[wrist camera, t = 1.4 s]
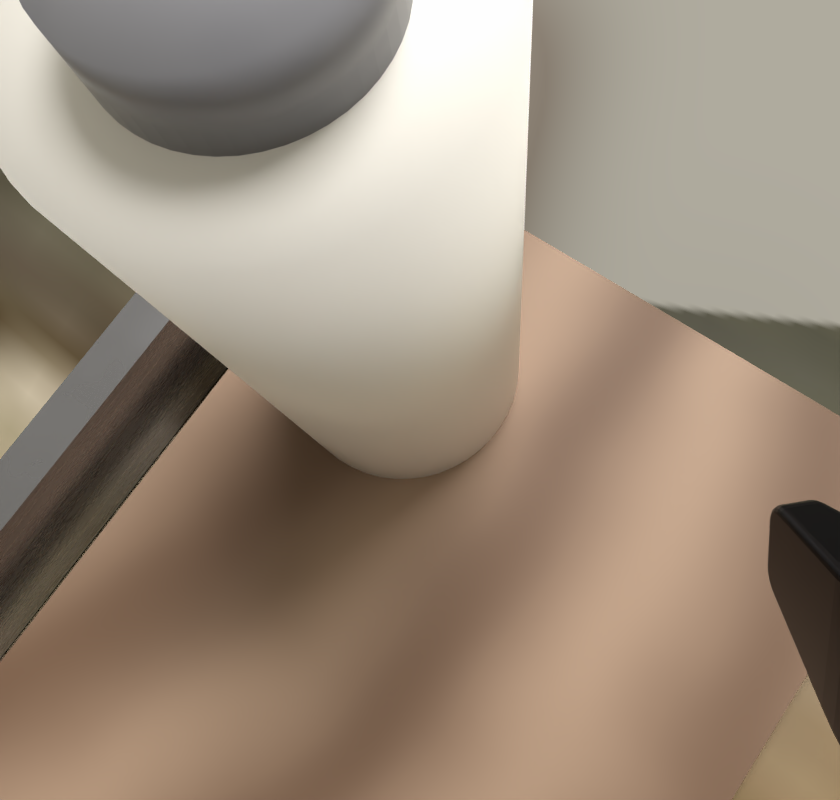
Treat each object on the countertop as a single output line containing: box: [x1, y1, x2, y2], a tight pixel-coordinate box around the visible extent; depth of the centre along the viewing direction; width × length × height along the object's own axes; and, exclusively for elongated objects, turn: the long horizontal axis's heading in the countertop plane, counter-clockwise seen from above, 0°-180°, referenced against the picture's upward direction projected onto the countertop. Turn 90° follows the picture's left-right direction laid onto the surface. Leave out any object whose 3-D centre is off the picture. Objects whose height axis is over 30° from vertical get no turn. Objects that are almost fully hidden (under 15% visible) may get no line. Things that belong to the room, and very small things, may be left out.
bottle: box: [0, 0, 533, 479], centre depth 14 cm, size 6×6×14 cm
